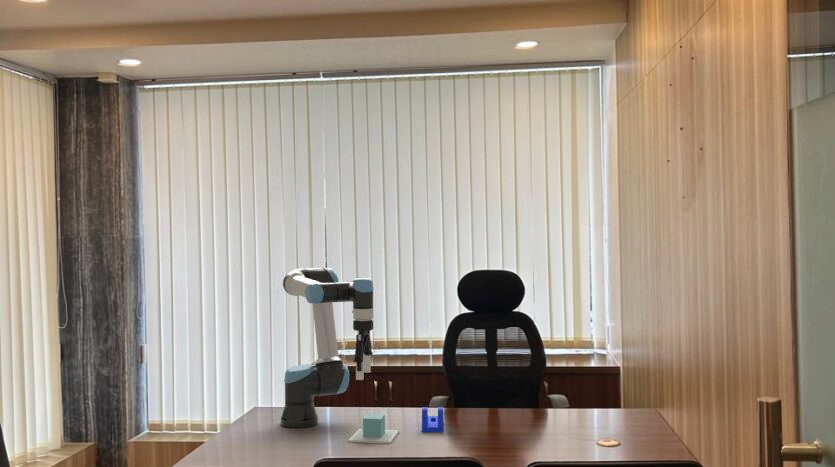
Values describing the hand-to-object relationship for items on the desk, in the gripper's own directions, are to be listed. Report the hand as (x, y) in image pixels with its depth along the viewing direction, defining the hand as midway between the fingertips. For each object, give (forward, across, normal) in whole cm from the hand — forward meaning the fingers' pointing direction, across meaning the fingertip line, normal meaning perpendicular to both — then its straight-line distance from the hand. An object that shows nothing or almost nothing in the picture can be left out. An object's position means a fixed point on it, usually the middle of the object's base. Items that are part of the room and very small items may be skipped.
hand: (363, 376), depth 289 cm
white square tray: (+24, -6, +3) cm, 25 cm away
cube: (+24, -6, +3) cm, 24 cm away
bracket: (+25, -24, +24) cm, 42 cm away
